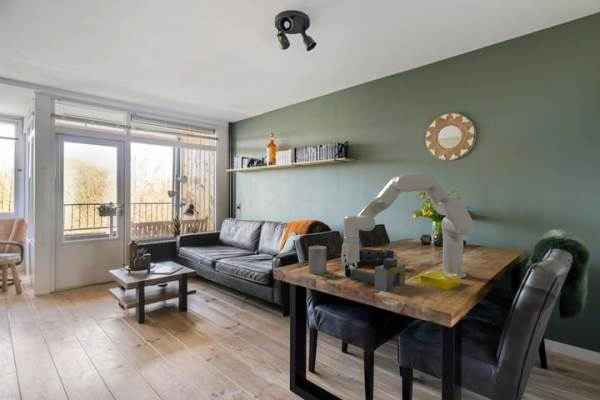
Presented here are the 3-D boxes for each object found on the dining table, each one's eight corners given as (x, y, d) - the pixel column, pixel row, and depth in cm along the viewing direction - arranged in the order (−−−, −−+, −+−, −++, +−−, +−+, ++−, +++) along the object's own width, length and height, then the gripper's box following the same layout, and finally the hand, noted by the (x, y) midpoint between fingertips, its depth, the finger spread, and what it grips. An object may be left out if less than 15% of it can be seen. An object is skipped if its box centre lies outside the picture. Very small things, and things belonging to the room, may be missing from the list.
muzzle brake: (348, 263, 189) (348, 246, 188) (396, 266, 180) (396, 249, 180) (346, 266, 179) (346, 249, 179) (396, 270, 171) (396, 252, 171)
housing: (393, 281, 149) (393, 255, 149) (405, 284, 145) (405, 257, 144) (374, 288, 138) (374, 260, 137) (386, 291, 133) (386, 262, 133)
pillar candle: (314, 269, 173) (314, 242, 172) (330, 271, 167) (329, 244, 167) (305, 273, 165) (304, 245, 164) (320, 275, 159) (320, 247, 159)
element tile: (431, 278, 158) (431, 268, 157) (462, 284, 146) (462, 274, 146) (417, 283, 147) (417, 273, 147) (449, 290, 136) (449, 280, 136)
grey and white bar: (349, 275, 160) (349, 265, 160) (379, 282, 147) (379, 271, 147) (344, 276, 158) (344, 266, 158) (374, 284, 145) (374, 273, 145)
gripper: (354, 237, 165) (354, 271, 166) (334, 241, 154) (334, 277, 154) (366, 239, 160) (366, 274, 160) (346, 242, 148) (346, 280, 149)
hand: (350, 275), depth 157 cm, fingers closed on grey and white bar, 4 cm apart
